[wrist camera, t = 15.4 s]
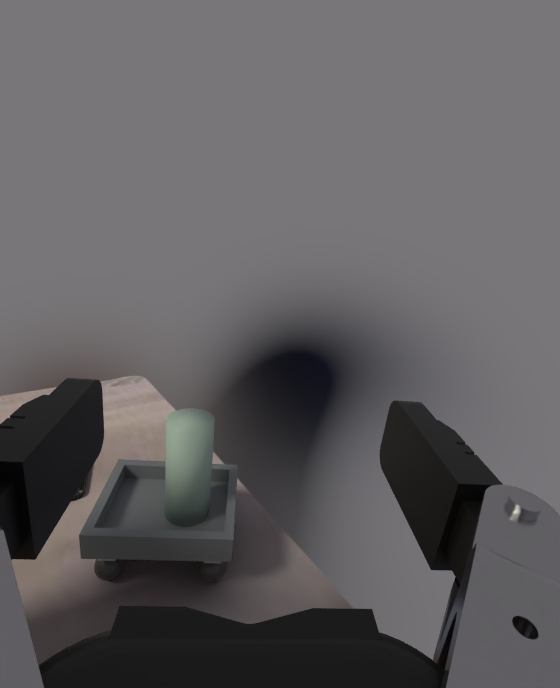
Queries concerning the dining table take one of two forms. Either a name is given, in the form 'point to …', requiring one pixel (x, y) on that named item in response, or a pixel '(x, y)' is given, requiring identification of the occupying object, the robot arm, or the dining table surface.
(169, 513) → the pale green cylinder
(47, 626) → the dining table surface
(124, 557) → the tray
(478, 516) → the robot arm
